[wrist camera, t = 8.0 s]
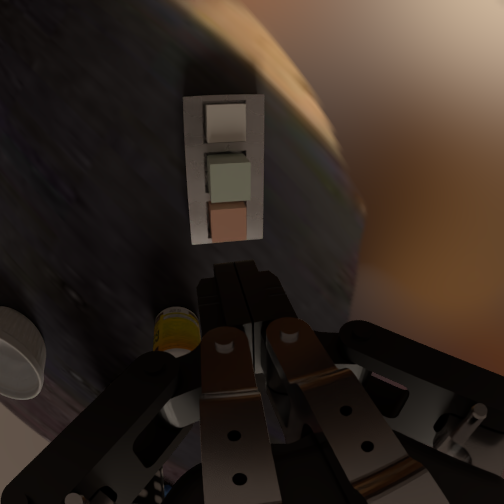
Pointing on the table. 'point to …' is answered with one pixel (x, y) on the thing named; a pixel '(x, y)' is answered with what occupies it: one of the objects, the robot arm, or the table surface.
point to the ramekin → (20, 356)
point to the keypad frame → (200, 149)
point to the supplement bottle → (176, 331)
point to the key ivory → (225, 122)
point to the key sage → (229, 177)
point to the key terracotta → (227, 221)
